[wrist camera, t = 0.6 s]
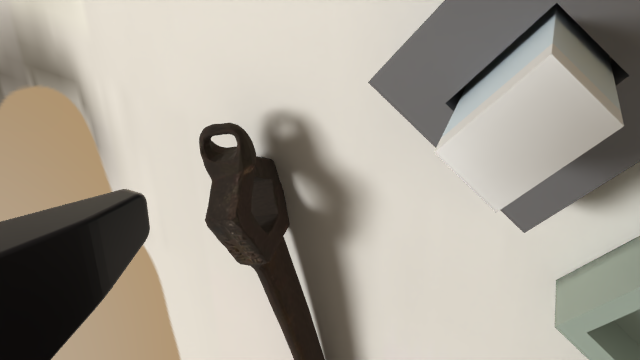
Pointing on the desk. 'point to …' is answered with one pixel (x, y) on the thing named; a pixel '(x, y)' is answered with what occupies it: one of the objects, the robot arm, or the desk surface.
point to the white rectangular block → (532, 111)
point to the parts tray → (603, 305)
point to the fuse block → (482, 48)
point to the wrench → (257, 230)
